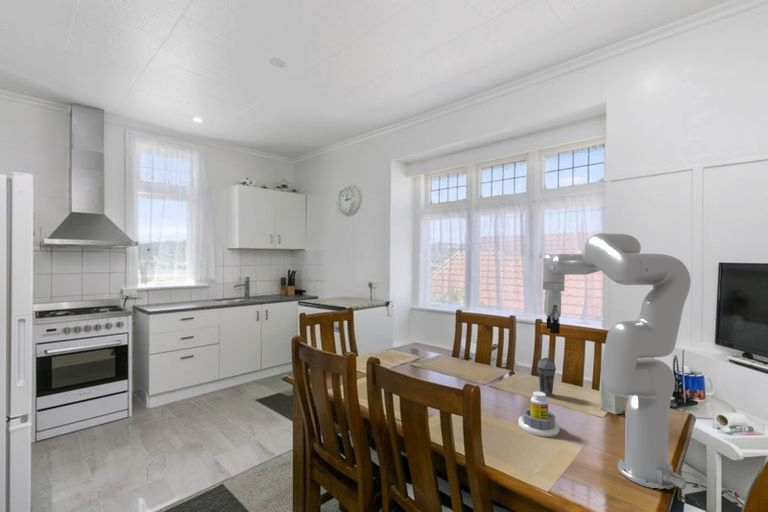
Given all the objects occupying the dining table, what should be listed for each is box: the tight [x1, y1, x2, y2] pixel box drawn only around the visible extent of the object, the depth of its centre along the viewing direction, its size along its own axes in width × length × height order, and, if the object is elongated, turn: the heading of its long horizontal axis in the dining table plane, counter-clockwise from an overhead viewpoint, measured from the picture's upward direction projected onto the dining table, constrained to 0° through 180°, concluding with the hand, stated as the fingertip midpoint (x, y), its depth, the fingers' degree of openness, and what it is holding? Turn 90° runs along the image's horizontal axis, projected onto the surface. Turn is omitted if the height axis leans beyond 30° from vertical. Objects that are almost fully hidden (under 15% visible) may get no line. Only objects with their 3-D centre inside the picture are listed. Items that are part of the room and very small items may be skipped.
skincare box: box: [599, 377, 624, 415], centre depth 140 cm, size 6×4×12 cm
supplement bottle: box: [530, 391, 549, 419], centre depth 125 cm, size 6×6×10 cm
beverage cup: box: [536, 347, 557, 397], centre depth 155 cm, size 7×7×20 cm
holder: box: [517, 407, 560, 438], centre depth 125 cm, size 13×13×4 cm
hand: (552, 330), depth 140 cm, fingers open, 9 cm apart
